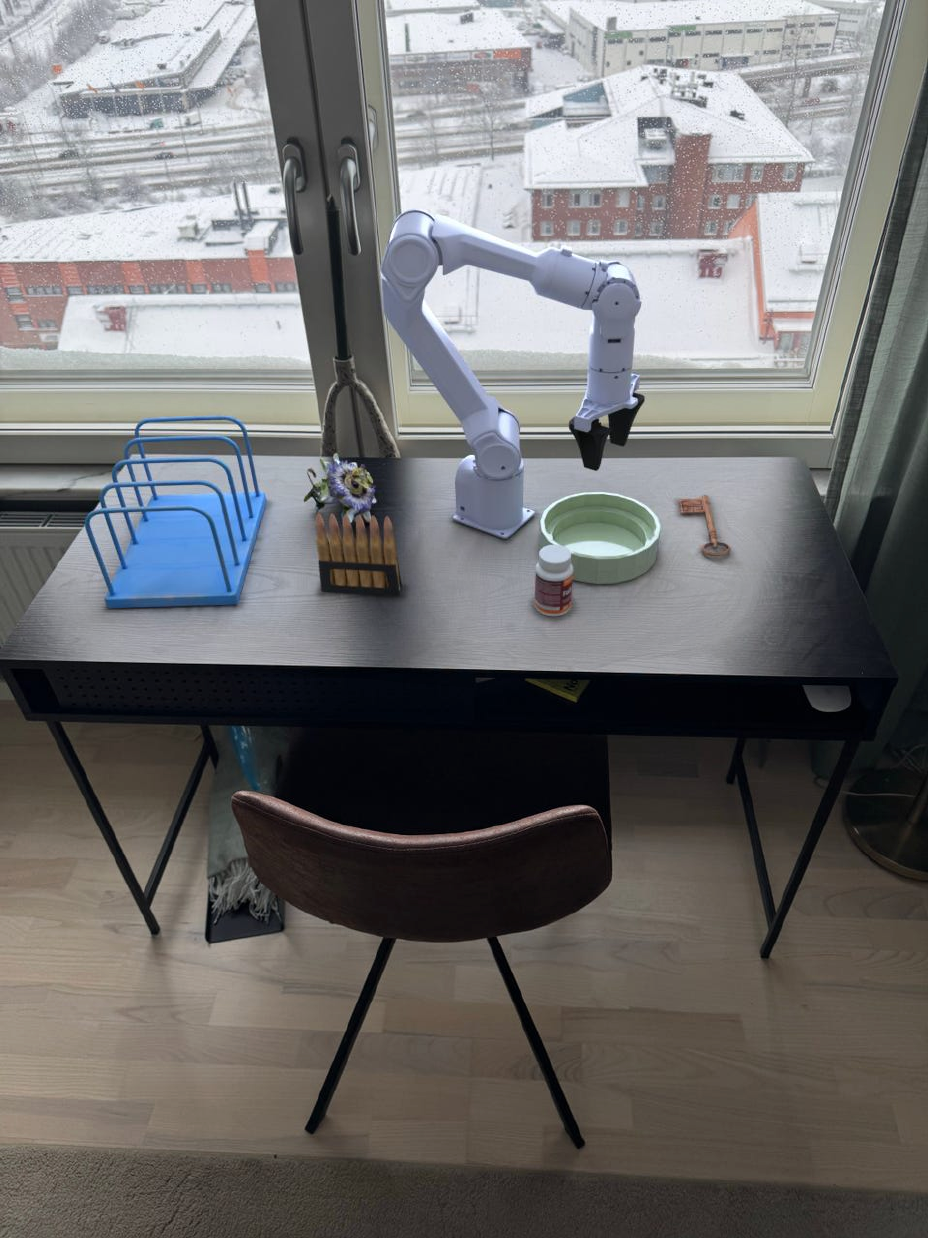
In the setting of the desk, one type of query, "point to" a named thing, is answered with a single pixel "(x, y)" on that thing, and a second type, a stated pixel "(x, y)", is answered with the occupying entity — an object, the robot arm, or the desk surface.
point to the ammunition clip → (357, 558)
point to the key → (712, 532)
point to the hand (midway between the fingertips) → (604, 455)
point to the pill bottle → (553, 581)
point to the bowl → (603, 535)
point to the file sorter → (182, 533)
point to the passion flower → (344, 489)
